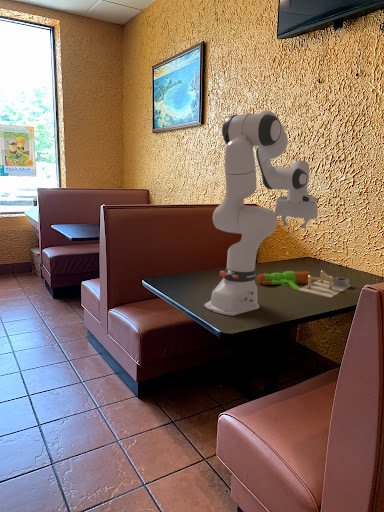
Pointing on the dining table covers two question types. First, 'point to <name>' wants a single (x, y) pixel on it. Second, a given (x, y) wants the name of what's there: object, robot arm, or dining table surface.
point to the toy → (284, 278)
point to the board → (322, 289)
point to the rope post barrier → (321, 279)
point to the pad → (342, 287)
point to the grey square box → (340, 282)
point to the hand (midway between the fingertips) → (294, 226)
